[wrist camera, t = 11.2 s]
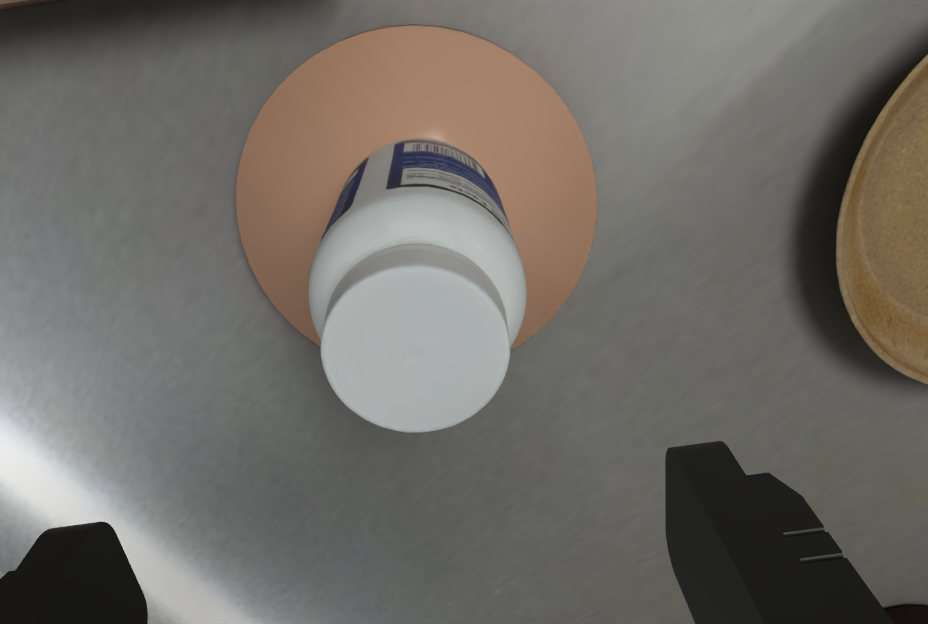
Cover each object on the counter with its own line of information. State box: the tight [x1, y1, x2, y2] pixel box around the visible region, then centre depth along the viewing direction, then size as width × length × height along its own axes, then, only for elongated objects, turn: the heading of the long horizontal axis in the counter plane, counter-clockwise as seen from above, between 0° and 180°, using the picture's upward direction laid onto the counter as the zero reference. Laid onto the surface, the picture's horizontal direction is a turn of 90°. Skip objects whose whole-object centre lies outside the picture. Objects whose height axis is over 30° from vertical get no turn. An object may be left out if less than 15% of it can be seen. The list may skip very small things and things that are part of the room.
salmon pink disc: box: [236, 24, 597, 351], centre depth 24 cm, size 12×12×1 cm
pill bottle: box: [308, 137, 527, 432], centre depth 19 cm, size 5×5×10 cm
